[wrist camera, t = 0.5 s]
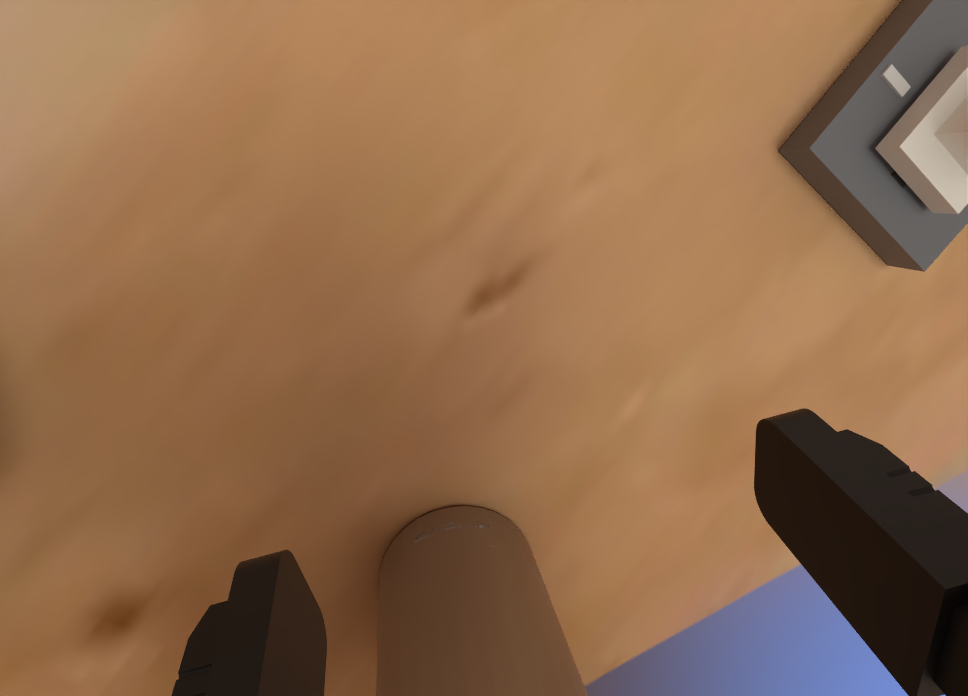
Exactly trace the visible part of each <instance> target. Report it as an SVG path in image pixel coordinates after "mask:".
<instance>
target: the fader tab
mask: <svg viewBox="0 0 968 696" xmlns="http://www.w3.org/2000/svg"><path fill="white" fill-rule="evenodd" d="M875 149H876V150H877V151H878V152H879V153H880V154H881V156H882V157H883V158H884V159H885V160H886V161H887V162H888V163H889V165H890V166H891V167H892V168H893V169H894V170H895V171H896V172H897V174H898V175H899V176H900V177H901V178H902V179H903V180H904V181H905V182H906V184H907V185H908V186H909V187H910V188H911V189H912V190H913V191H914V193H915V194H916V195H917V196H918V197H919V198H920V199H921V200H922V202H923V203H924V204H925V205H926V206H927V207H928V208H929V209H930V211H931V212H932V213H948V214H959V213H960V212H961V211H962V210H963V208H964V207H965V206H966V205H967V204H968V45H967V46H963V47H961V48H960V49H959V50H958V51H957V52H956V54H955V55H954V56H953V57H952V58H951V59H950V61H949V62H948V63H947V64H946V65H945V67H944V68H943V69H942V70H941V71H940V72H939V74H938V75H937V76H936V77H935V78H934V80H933V81H932V82H931V83H930V84H929V85H928V87H927V88H926V89H925V90H924V91H923V92H922V94H921V95H920V96H919V97H918V98H917V100H916V101H915V102H914V103H913V104H912V105H911V107H910V108H909V109H908V110H907V111H906V112H905V114H904V115H903V116H902V117H901V118H900V120H899V121H898V122H897V123H896V124H895V125H894V127H893V128H892V129H891V130H890V131H889V133H888V134H887V135H886V136H885V137H884V138H883V140H882V141H881V142H880V143H879V144H878V145H877V147H876V148H875Z"/></svg>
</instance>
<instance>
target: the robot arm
mask: <svg viewBox="0 0 968 696" xmlns="http://www.w3.org/2000/svg"><path fill="white" fill-rule="evenodd" d="M754 490H755V496H756V500H757V503H758V505H759V508H760V510H761V512H762V514H763V516H764V518H765V519H766V521H767V522H768V524H769V525H770V526H771V527H772V529H773V530H774V531H775V532H776V534H777V535H778V536H779V537H780V539H781V540H782V541H783V542H784V543H785V545H786V546H787V547H788V548H789V550H790V551H791V552H792V553H793V554H794V556H795V557H796V558H797V559H798V561H799V562H800V563H801V564H802V565H803V567H804V568H805V569H806V570H807V572H808V573H809V574H810V575H811V576H812V578H813V579H814V580H815V581H816V583H817V584H818V585H819V586H820V588H821V589H822V590H823V591H824V592H825V593H826V595H827V596H828V597H829V599H830V600H831V601H832V602H833V603H834V605H835V606H836V607H837V608H838V610H839V611H840V612H841V613H842V614H843V616H844V617H845V618H846V619H847V621H848V622H849V623H850V624H851V626H852V627H853V628H854V629H855V630H856V632H857V633H858V634H859V635H860V637H861V638H862V639H863V640H864V641H865V643H866V644H867V645H868V646H869V648H870V649H871V650H872V651H873V653H874V654H875V655H876V656H877V657H878V659H879V660H880V661H881V662H882V663H883V664H884V666H885V667H886V668H887V670H888V671H889V672H890V673H891V675H892V676H893V677H894V678H895V679H896V681H897V682H898V683H899V684H900V686H901V687H902V688H903V689H904V690H905V692H906V693H907V694H908V695H909V696H940V695H943V694H945V695H946V696H968V513H966V512H965V511H964V510H963V509H961V508H960V507H959V506H957V505H956V504H955V503H954V502H952V501H951V500H950V499H949V498H948V497H946V496H945V495H944V494H942V493H941V492H940V491H939V490H936V491H935V490H934V489H933V487H932V485H931V484H930V483H929V482H928V481H926V480H925V479H924V478H923V477H921V476H920V475H919V474H918V473H916V472H915V471H914V472H911V471H910V469H909V466H908V465H906V464H905V463H904V462H903V461H901V460H900V459H899V458H898V457H897V456H895V455H894V454H893V453H892V452H890V451H889V450H888V449H887V448H885V447H884V446H883V445H881V444H879V443H877V442H874V441H872V440H870V439H868V438H865V437H863V436H861V435H859V434H856V433H854V432H852V431H850V430H843V431H839V432H836V431H835V430H834V429H833V428H832V427H830V426H829V425H828V424H827V423H826V422H825V421H823V420H822V419H821V418H820V417H819V416H818V415H816V414H815V413H814V412H812V411H811V410H809V409H799V410H795V411H792V412H788V413H784V414H780V415H777V416H773V417H769V418H766V419H762V420H760V421H759V422H758V424H757V427H756V447H755V476H754ZM326 653H327V639H326V630H325V624H324V620H323V616H322V613H321V610H320V608H319V606H318V604H317V602H316V600H315V598H314V596H313V594H312V592H311V590H310V588H309V586H308V584H307V582H306V580H305V578H304V576H303V574H302V572H301V570H300V568H299V566H298V564H297V562H296V560H295V558H294V556H293V554H292V553H291V552H290V551H289V550H283V551H280V552H276V553H272V554H269V555H265V556H261V557H258V558H254V559H250V560H246V561H243V562H240V563H239V564H238V566H237V568H236V570H235V573H234V577H233V581H232V585H231V589H230V594H229V598H228V601H225V602H221V603H217V604H214V605H210V607H209V608H208V610H207V611H206V613H205V614H204V616H203V617H202V619H201V620H200V622H199V623H198V625H197V626H196V628H195V629H194V631H193V632H192V634H191V635H190V637H189V638H188V642H187V645H186V649H185V652H184V655H183V659H182V662H181V666H180V669H179V672H178V674H179V680H176V683H175V686H174V689H173V693H172V696H324V684H325V669H326ZM376 696H588V695H587V692H586V690H585V687H584V685H583V682H582V679H581V677H580V674H579V672H578V669H577V667H576V664H575V661H574V659H573V656H572V654H571V651H570V649H569V646H568V644H567V641H566V638H565V636H564V633H563V631H562V628H561V626H560V623H559V620H558V618H557V615H556V613H555V610H554V608H553V605H552V602H551V600H550V597H549V595H548V592H547V589H546V586H545V584H544V581H543V579H542V576H541V574H540V571H539V569H538V566H537V564H536V561H535V558H534V556H533V553H532V551H531V548H530V546H529V543H528V541H527V540H526V538H525V537H524V535H523V534H522V532H521V531H520V529H518V528H517V527H516V526H515V525H514V524H513V523H512V522H511V521H510V520H508V519H507V518H505V517H503V516H502V515H500V514H498V513H496V512H493V511H490V510H487V509H484V508H479V507H470V506H458V507H448V508H444V509H440V510H437V511H433V512H430V513H428V514H426V515H424V516H422V517H420V518H418V519H416V520H415V521H414V522H412V523H411V524H410V525H408V526H407V527H406V528H404V529H403V530H402V531H401V532H400V533H399V534H398V536H397V537H396V538H395V539H394V540H393V541H392V543H391V545H390V546H389V548H388V550H387V552H386V553H385V555H384V558H383V562H382V565H381V568H380V579H379V609H378V635H377V677H376Z"/></svg>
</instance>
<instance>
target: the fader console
mask: <svg viewBox="0 0 968 696" xmlns="http://www.w3.org/2000/svg"><path fill="white" fill-rule="evenodd" d="M967 45H968V0H903V1H902V2H901V3H900V4H899V5H898V7H897V8H896V9H895V10H894V11H893V13H892V14H891V15H890V16H889V18H888V19H887V20H886V21H885V22H884V24H883V25H882V26H881V27H880V28H879V30H878V31H877V32H876V33H875V34H874V36H873V37H872V38H871V39H870V40H869V42H868V43H867V44H866V45H865V47H864V48H863V49H862V50H861V51H860V53H859V54H858V55H857V56H856V57H855V59H854V60H853V61H852V62H851V63H850V65H849V66H848V67H847V68H846V70H845V71H844V72H843V73H842V74H841V76H840V77H839V78H838V79H837V80H836V82H835V83H834V84H833V85H832V86H831V88H830V89H829V90H828V91H827V92H826V94H825V95H824V96H823V97H822V99H821V100H820V101H819V102H818V103H817V105H816V106H815V107H814V108H813V109H812V111H811V112H810V113H809V114H808V115H807V117H806V118H805V119H804V120H803V121H802V123H801V124H800V125H799V126H798V128H797V129H796V130H795V131H794V132H793V134H792V135H791V136H790V137H789V138H788V140H787V141H786V142H785V143H784V144H783V146H782V147H781V148H780V149H779V152H780V153H781V154H782V155H783V156H784V157H785V159H786V160H787V161H788V162H789V163H790V164H791V165H792V166H793V167H794V168H795V169H796V170H797V171H798V172H799V173H800V174H801V175H802V176H803V177H804V178H805V179H806V180H807V181H808V183H809V184H810V185H811V186H812V187H813V188H814V189H815V190H816V191H817V192H818V193H819V194H820V195H821V196H822V197H823V198H824V199H825V200H826V201H827V202H828V203H829V204H830V205H831V206H832V208H833V209H834V210H835V211H836V212H837V213H838V214H839V215H840V216H841V217H842V218H843V219H844V220H845V221H846V222H847V223H848V224H849V225H850V226H851V227H852V228H853V229H854V230H855V232H856V233H857V234H858V235H859V236H860V237H861V238H862V239H863V240H864V241H865V242H866V243H867V244H868V245H869V246H870V247H871V248H872V249H873V250H874V251H875V252H876V253H877V254H878V255H879V257H880V258H881V259H882V260H883V261H884V262H885V263H886V264H887V265H888V266H894V267H900V268H906V269H913V270H919V271H925V270H926V269H927V268H928V267H929V266H930V265H931V264H932V263H933V261H934V260H935V259H936V258H937V257H938V256H939V255H940V254H941V252H942V251H943V250H944V249H945V248H946V247H947V246H948V245H949V243H950V242H951V241H952V240H953V239H954V238H955V237H956V235H957V234H958V233H959V232H960V231H961V230H962V229H963V228H964V226H965V225H966V224H967V223H968V204H967V205H966V206H965V207H964V208H963V210H962V211H961V212H960V213H959V214H948V213H932V212H931V211H930V209H929V208H928V207H927V206H926V205H925V204H924V203H923V202H922V200H921V199H920V198H919V197H918V196H917V195H916V194H915V193H914V191H913V190H912V189H911V188H910V187H909V186H908V185H907V184H906V182H905V181H904V180H903V179H902V178H901V177H900V176H899V175H898V174H897V172H896V171H895V170H894V169H893V168H892V167H891V166H890V165H889V163H888V162H887V161H886V160H885V159H884V158H883V157H882V156H881V154H880V153H879V152H878V151H877V150H876V149H875V148H876V147H877V145H878V144H879V143H880V142H881V141H882V140H883V138H884V137H885V136H886V135H887V134H888V133H889V131H890V130H891V129H892V128H893V127H894V125H895V124H896V123H897V122H898V121H899V120H900V118H901V117H902V116H903V115H904V114H905V112H906V111H907V110H908V109H909V108H910V107H911V105H912V104H913V103H914V102H915V101H916V100H917V98H918V97H919V96H920V95H921V94H922V92H923V91H924V90H925V89H926V88H927V87H928V85H929V84H930V83H931V82H932V81H933V80H934V78H935V77H936V76H937V75H938V74H939V72H940V71H941V70H942V69H943V68H944V67H945V65H946V64H947V63H948V62H949V61H950V59H951V58H952V57H953V56H954V55H955V54H956V52H957V51H958V50H959V49H960V48H961V47H963V46H967Z"/></svg>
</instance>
